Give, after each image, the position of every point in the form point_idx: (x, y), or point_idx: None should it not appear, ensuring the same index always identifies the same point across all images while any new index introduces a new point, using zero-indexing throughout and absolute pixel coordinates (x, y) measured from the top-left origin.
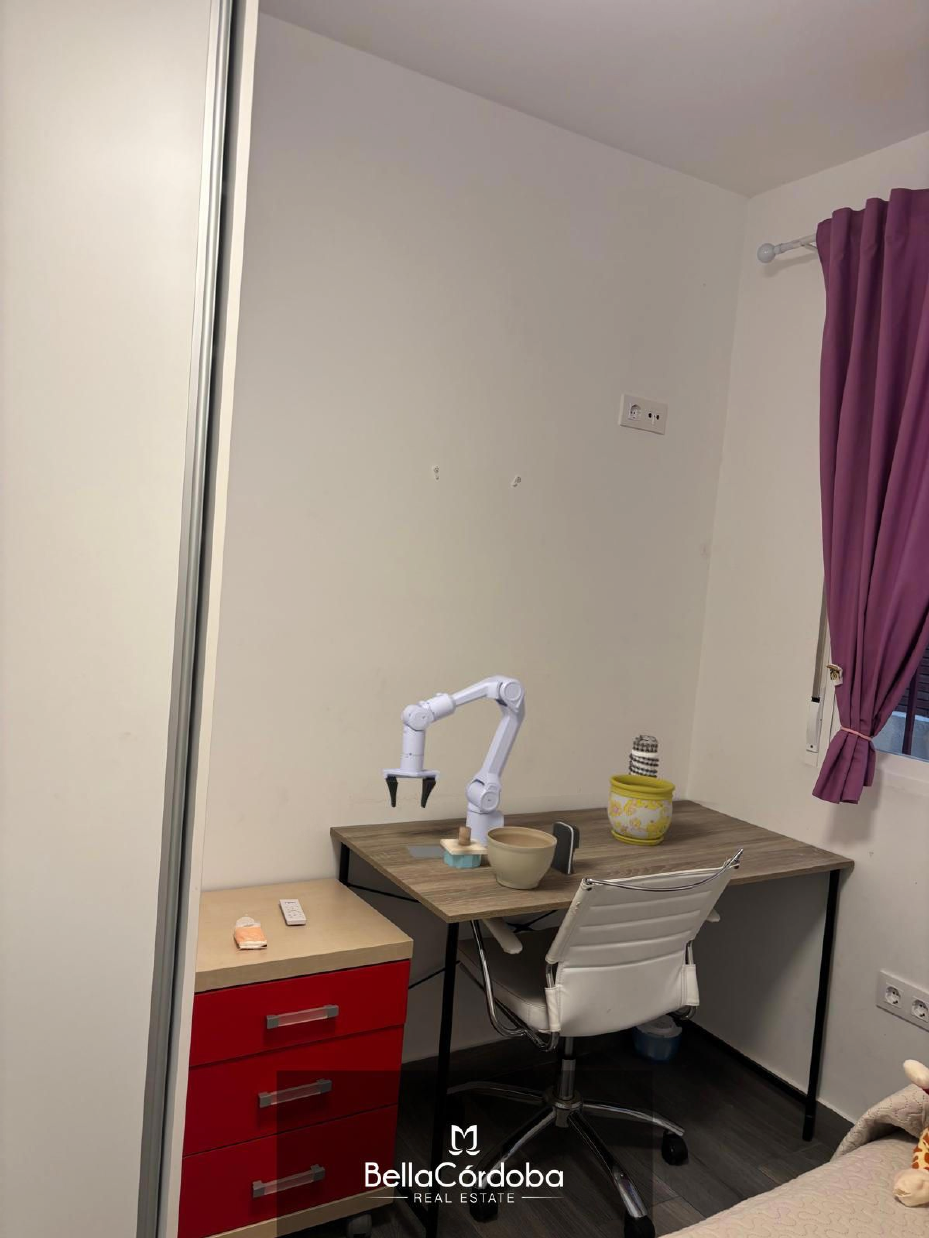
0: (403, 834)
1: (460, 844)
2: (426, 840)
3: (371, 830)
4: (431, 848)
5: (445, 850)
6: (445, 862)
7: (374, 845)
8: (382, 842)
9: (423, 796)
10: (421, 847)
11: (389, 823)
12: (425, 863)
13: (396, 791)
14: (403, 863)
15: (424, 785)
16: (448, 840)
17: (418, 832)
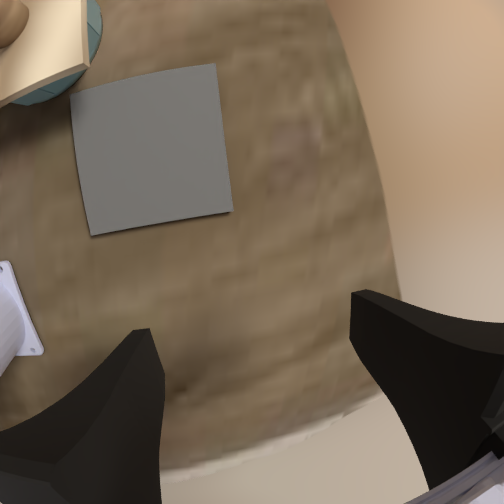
0: (225, 372)
1: (25, 5)
2: (144, 325)
3: (322, 383)
4: (125, 194)
5: (87, 15)
6: (99, 21)
7: (344, 229)
8: (311, 271)
9: (141, 400)
10: (165, 201)
11: (259, 444)
12: (172, 29)
13: (431, 332)
14: (258, 21)
15: (130, 485)
16: (52, 56)
17: (175, 397)
